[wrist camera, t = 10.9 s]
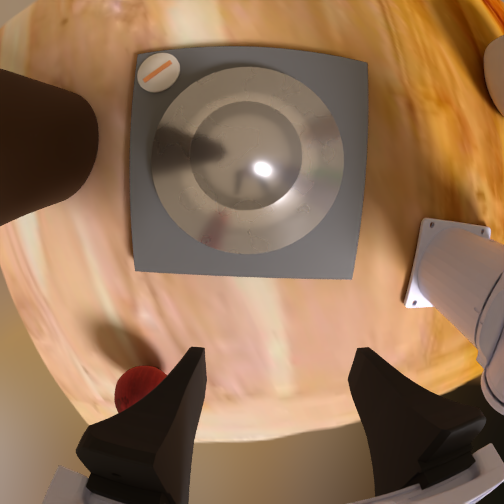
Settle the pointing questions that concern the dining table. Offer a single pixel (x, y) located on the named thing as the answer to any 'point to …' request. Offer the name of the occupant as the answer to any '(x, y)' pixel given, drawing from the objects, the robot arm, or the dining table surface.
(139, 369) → the onion
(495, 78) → the teacup
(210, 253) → the scale base
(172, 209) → the scale pan
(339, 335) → the dining table surface
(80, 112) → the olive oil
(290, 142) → the cylinder
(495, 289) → the robot arm
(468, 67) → the dining table surface
